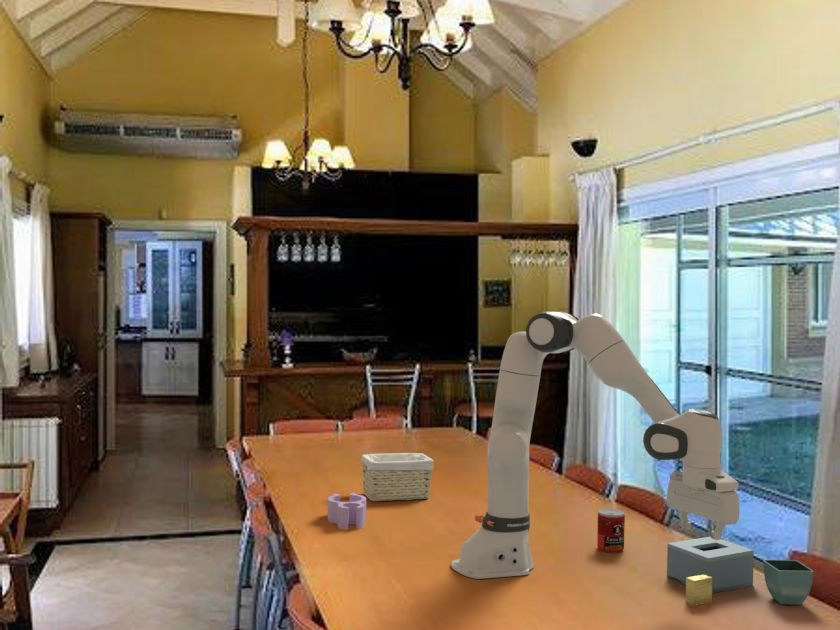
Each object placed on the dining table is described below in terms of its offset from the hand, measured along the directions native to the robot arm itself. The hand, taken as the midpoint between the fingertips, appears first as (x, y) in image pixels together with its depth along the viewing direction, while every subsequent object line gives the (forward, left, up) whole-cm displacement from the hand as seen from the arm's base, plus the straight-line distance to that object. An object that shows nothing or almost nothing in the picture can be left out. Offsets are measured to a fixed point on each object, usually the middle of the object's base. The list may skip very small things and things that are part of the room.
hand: (700, 534), depth 204 cm
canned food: (+9, +43, -17) cm, 47 cm away
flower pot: (+20, -9, -17) cm, 27 cm away
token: (0, 0, -17) cm, 17 cm away
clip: (-49, +103, -17) cm, 115 cm away
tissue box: (+14, +10, -17) cm, 24 cm away
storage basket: (-20, +127, -17) cm, 129 cm away
